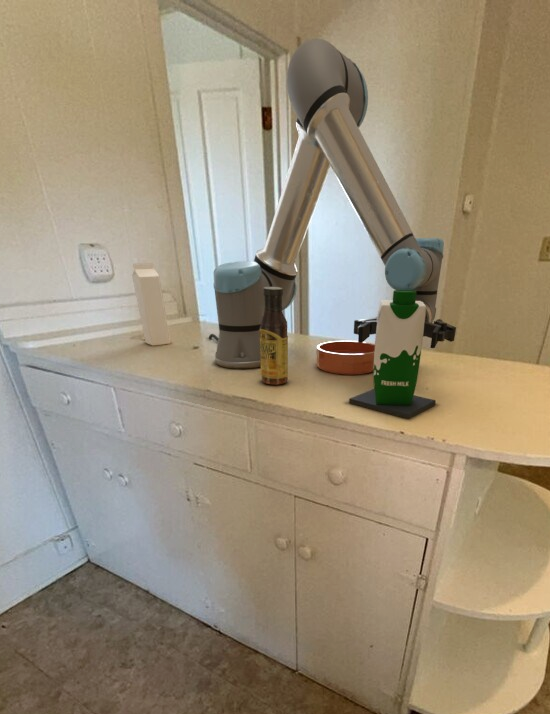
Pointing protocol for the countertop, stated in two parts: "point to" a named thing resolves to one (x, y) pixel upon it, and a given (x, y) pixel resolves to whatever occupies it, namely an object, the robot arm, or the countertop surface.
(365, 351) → the bowl
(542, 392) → the countertop surface
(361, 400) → the mat
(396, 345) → the drink carton
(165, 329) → the milk
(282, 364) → the sauce bottle
